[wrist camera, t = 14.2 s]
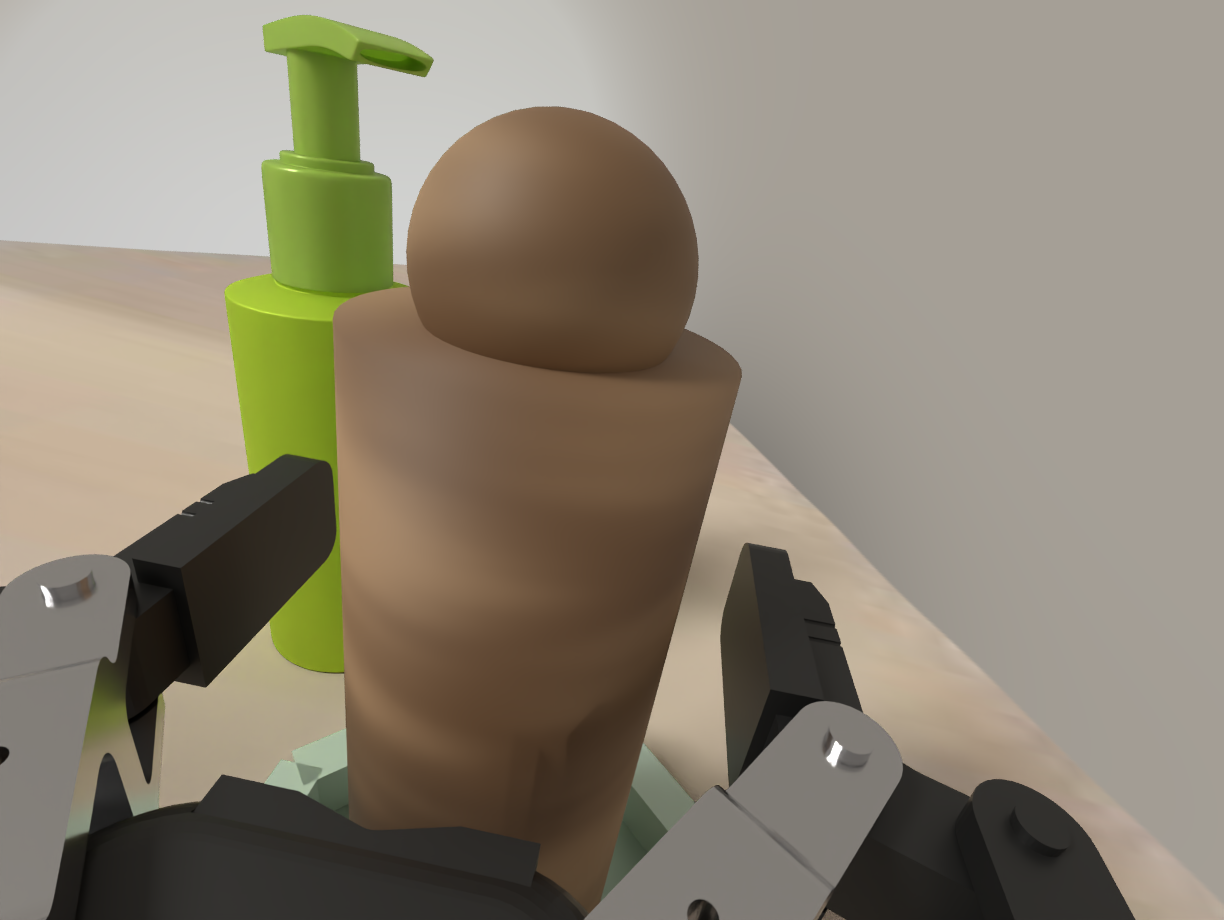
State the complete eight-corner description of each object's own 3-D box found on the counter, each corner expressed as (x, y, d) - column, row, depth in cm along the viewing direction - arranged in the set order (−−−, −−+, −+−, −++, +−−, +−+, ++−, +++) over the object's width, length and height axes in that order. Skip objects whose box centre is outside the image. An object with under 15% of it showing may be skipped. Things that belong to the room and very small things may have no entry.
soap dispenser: (323, 719, 20) (252, -18, 11) (248, 607, 24) (152, -4, 15) (471, 642, 24) (505, 54, 15) (386, 557, 28) (374, 51, 19)
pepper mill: (305, 1066, 12) (188, 10, 5) (413, 820, 17) (440, 99, 9) (557, 1129, 12) (857, 129, 4) (595, 862, 17) (772, 160, 9)
